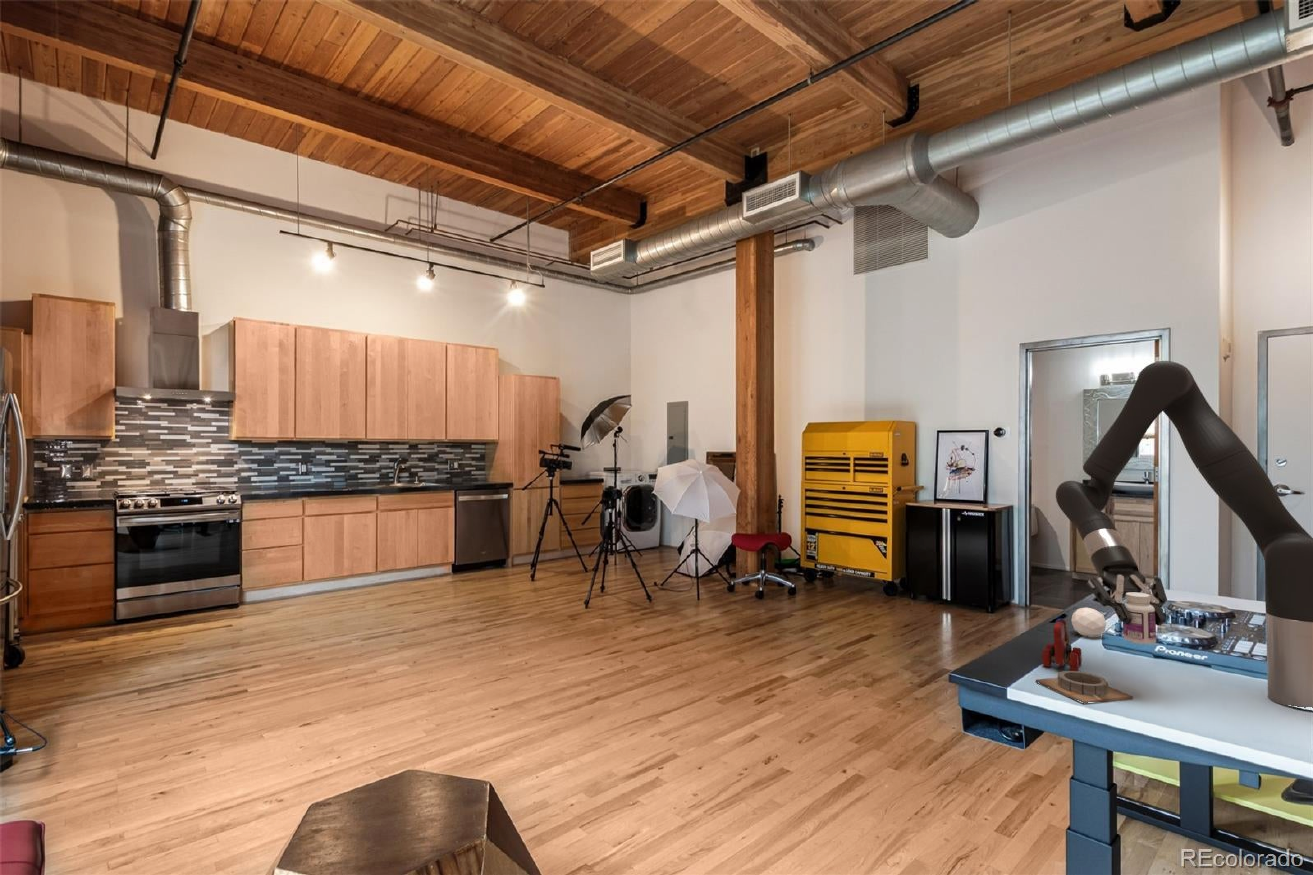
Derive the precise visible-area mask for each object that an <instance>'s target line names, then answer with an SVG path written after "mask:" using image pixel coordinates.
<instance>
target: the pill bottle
mask: <svg viewBox="0 0 1313 875" xmlns="http://www.w3.org/2000/svg"><path fill="white" fill-rule="evenodd" d="M1125 600H1126V602H1123V604H1125V606H1126V608H1127V610H1128V612H1129V614H1130V616H1131V619H1132V621H1131V622H1130V623H1129V624H1123V623H1122V629H1123V630H1122V631H1123V638H1124V640H1126V641H1127V642H1130V643H1134V644H1140V645H1141V644H1142V645H1152V644H1153V645H1154V644H1156V642H1157V625H1156V621H1155V609H1154V607H1153V606H1152V605H1150V604H1149V602H1150V595H1148V594H1145V593H1142V592H1140V593H1138V592H1128V593H1126V596H1125Z"/></svg>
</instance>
